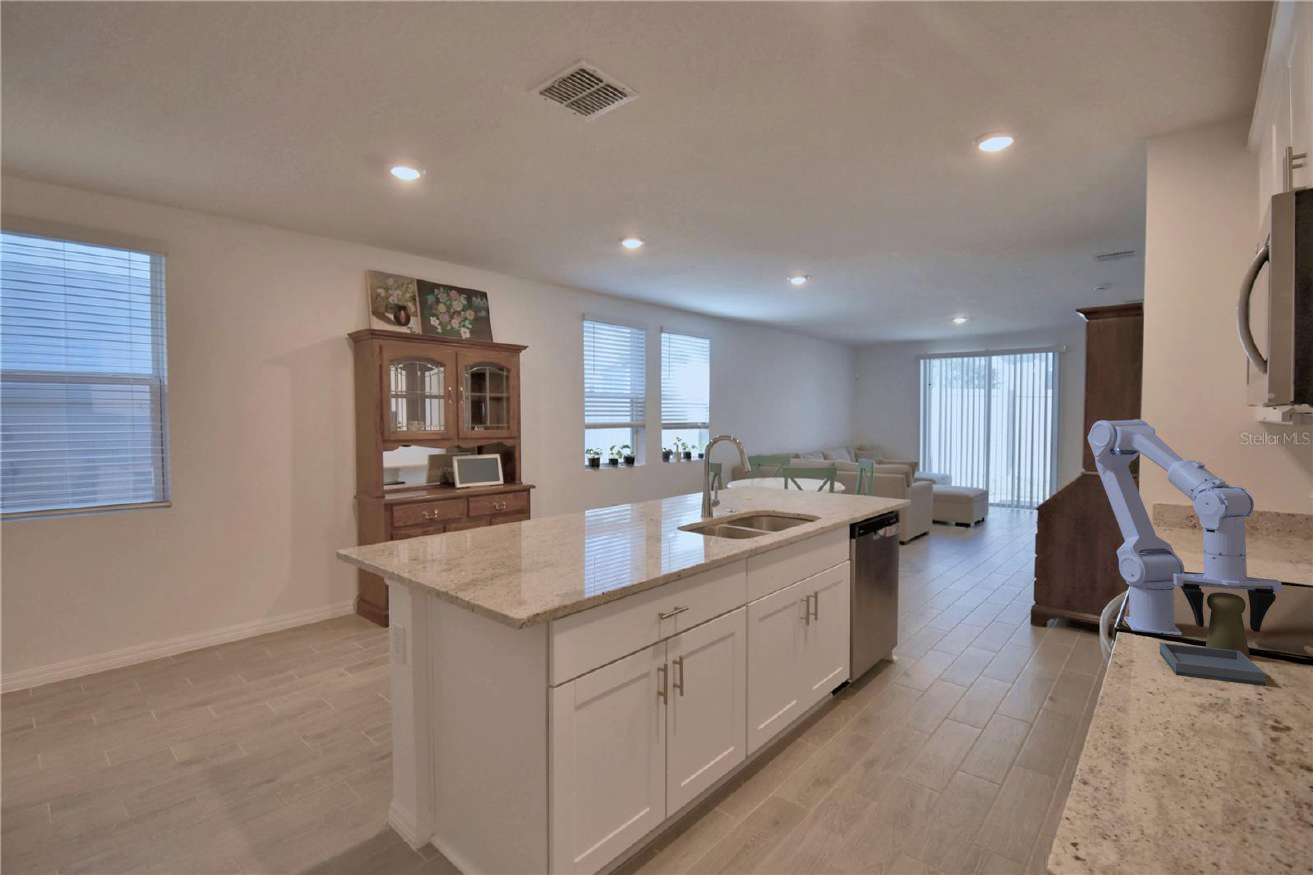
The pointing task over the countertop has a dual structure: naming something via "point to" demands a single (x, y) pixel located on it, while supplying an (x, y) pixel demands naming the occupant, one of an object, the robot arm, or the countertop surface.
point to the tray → (1211, 663)
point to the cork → (1227, 623)
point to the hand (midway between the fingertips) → (1227, 628)
